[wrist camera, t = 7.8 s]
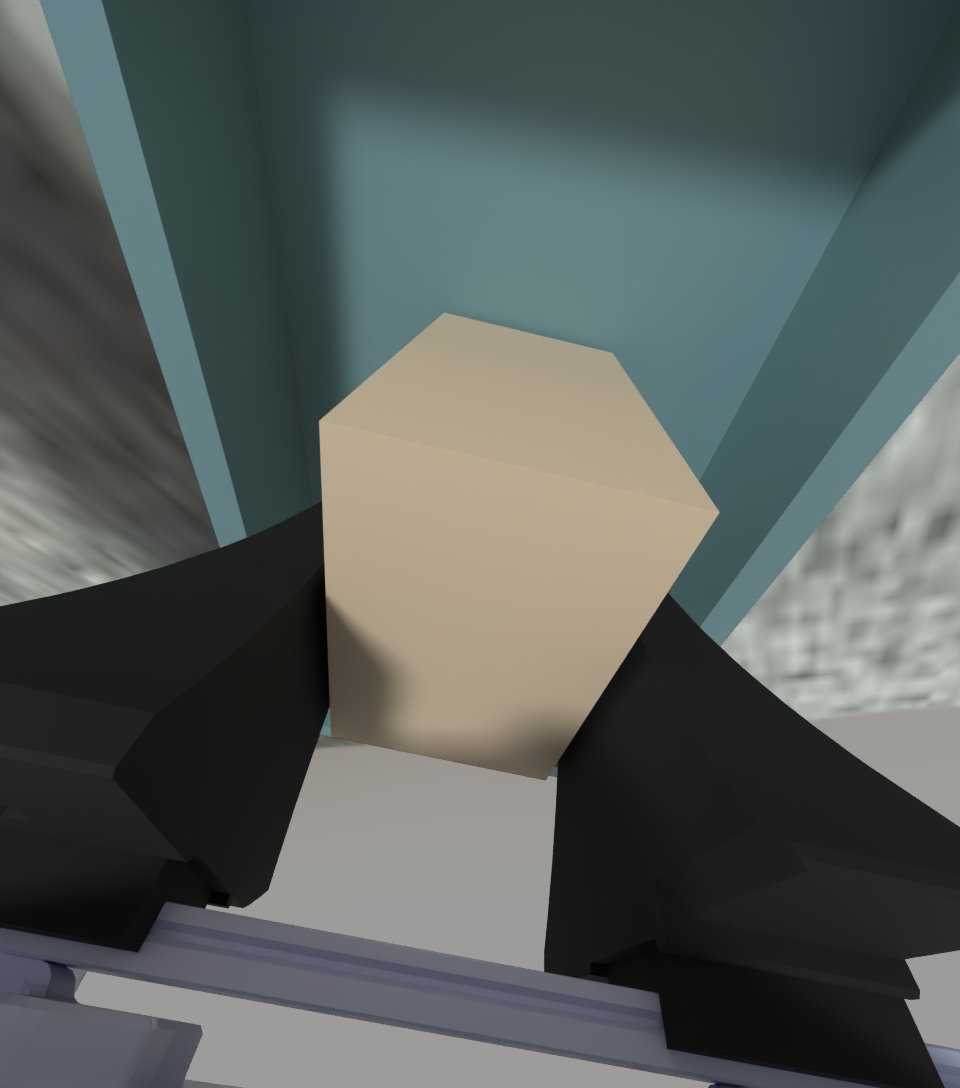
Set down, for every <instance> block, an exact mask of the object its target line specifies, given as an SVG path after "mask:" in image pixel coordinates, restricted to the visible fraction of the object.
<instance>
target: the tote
mask: <svg viewBox="0 0 960 1088" xmlns="http://www.w3.org/2000/svg"><path fill="white" fill-rule="evenodd" d="M40 3H41V6H42V9H43V12H44V15H45V18H46V21H47V24H48V27H49V30H50V33H51V36H52V39H53V42H54V45H55V48H56V51H57V54H58V57H59V60H60V63H61V66H62V70H63V73H64V76H65V79H66V82H67V85H68V88H69V91H70V94H71V97H72V100H73V103H74V106H75V109H76V112H77V115H78V118H79V121H80V124H81V127H82V130H83V133H84V136H85V139H86V142H87V145H88V148H89V152H90V155H91V158H92V161H93V164H94V167H95V170H96V173H97V176H98V179H99V182H100V185H101V188H102V191H103V194H104V197H105V200H106V203H107V206H108V209H109V212H110V215H111V218H112V221H113V224H114V227H115V230H116V234H117V237H118V240H119V243H120V246H121V249H122V252H123V255H124V258H125V261H126V264H127V267H128V270H129V273H130V276H131V279H132V282H133V285H134V288H135V291H136V294H137V297H138V300H139V303H140V306H141V309H142V312H143V316H144V319H145V322H146V325H147V328H148V331H149V334H150V337H151V340H152V343H153V346H154V349H155V352H156V355H157V358H158V361H159V364H160V367H161V370H162V373H163V376H164V379H165V382H166V385H167V388H168V391H169V394H170V397H171V401H172V404H173V407H174V410H175V413H176V416H177V419H178V422H179V425H180V428H181V431H182V434H183V437H184V440H185V443H186V446H187V449H188V452H189V455H190V458H191V461H192V464H193V467H194V470H195V473H196V476H197V479H198V483H199V486H200V489H201V492H202V495H203V498H204V501H205V504H206V507H207V510H208V513H209V516H210V519H211V522H212V525H213V528H214V531H215V534H216V537H217V540H218V543H219V546H220V548H221V547H224V546H227V545H229V544H232V543H234V542H237V541H239V540H242V539H244V538H247V537H249V536H251V535H254V534H256V533H259V532H261V531H263V530H265V529H268V528H270V527H272V526H274V525H276V524H278V523H281V522H283V521H285V520H286V519H288V518H290V517H292V516H294V515H296V514H298V513H300V512H302V511H304V510H306V509H308V508H309V507H311V506H313V505H315V504H317V503H319V502H321V501H322V484H321V458H320V432H319V420H321V419H322V418H323V417H324V416H325V415H326V414H328V413H329V412H330V411H331V410H332V409H333V408H334V407H336V406H337V405H338V404H339V403H340V402H341V401H343V400H344V399H345V398H346V397H347V396H348V395H350V394H351V393H352V392H353V391H354V390H355V389H356V388H358V387H359V386H360V385H361V384H362V383H363V382H365V381H366V380H367V379H368V378H369V377H370V376H371V375H373V374H374V373H375V372H376V371H377V370H378V369H380V368H381V367H382V366H383V365H384V364H385V363H386V362H388V361H389V360H390V359H391V358H392V357H393V356H395V355H396V354H397V353H398V352H399V351H400V350H402V349H403V348H404V347H405V346H406V345H407V344H408V343H410V342H411V341H412V340H413V339H414V338H415V337H417V336H418V335H419V334H420V333H421V332H422V331H423V330H425V329H426V328H427V327H428V326H429V325H430V324H432V323H433V322H434V321H435V320H436V319H437V318H438V317H440V316H441V315H442V314H443V313H448V314H453V315H457V316H461V317H465V318H469V319H473V320H478V321H482V322H486V323H490V324H494V325H498V326H503V327H507V328H511V329H515V330H519V331H523V332H528V333H532V334H536V335H540V336H544V337H548V338H553V339H557V340H561V341H565V342H569V343H573V344H578V345H582V346H586V347H590V348H594V349H598V350H603V351H607V352H611V353H613V354H614V356H615V357H616V359H617V360H618V362H619V363H620V365H621V366H622V368H623V369H624V371H625V372H626V374H627V375H628V377H629V378H630V379H631V381H632V382H633V384H634V385H635V387H636V388H637V390H638V391H639V393H640V394H641V396H642V397H643V399H644V400H645V402H646V403H647V405H648V406H649V408H650V409H651V411H652V412H653V414H654V415H655V417H656V418H657V420H658V421H659V423H660V424H661V426H662V427H663V429H664V430H665V432H666V433H667V435H668V436H669V438H670V439H671V441H672V442H673V444H674V445H675V447H676V448H677V450H678V451H679V453H680V454H681V456H682V457H683V458H684V460H685V461H686V463H687V464H688V466H689V467H690V469H691V470H692V472H693V473H694V475H695V476H696V478H697V479H698V481H699V482H700V484H701V485H702V487H703V488H704V490H705V491H706V493H707V494H708V496H709V497H710V499H711V500H712V502H713V503H714V505H715V506H716V508H717V509H718V511H719V512H720V513H719V514H718V516H717V517H716V519H715V520H714V522H713V523H712V525H711V526H710V528H709V530H708V531H707V533H706V534H705V536H704V537H703V539H702V540H701V542H700V543H699V545H698V546H697V548H696V550H695V551H694V553H693V554H692V556H691V557H690V559H689V560H688V562H687V563H686V565H685V566H684V568H683V570H682V571H681V573H680V574H679V576H678V577H677V579H676V580H675V582H674V583H673V585H672V586H671V588H670V590H669V591H668V593H669V594H670V595H671V596H672V597H673V599H674V600H675V601H676V602H677V603H678V604H679V605H680V606H681V607H682V609H683V610H684V611H685V612H686V613H687V614H688V615H689V616H690V617H691V618H692V619H693V621H694V622H695V623H696V624H697V625H698V626H699V627H700V628H701V629H702V630H703V631H704V632H705V633H706V634H707V635H708V636H709V637H710V638H711V639H713V640H714V641H715V642H716V643H717V644H718V645H719V646H721V645H722V644H723V642H724V641H725V640H726V639H727V638H728V636H729V635H730V634H731V633H732V631H733V630H734V629H735V628H736V626H737V625H738V624H739V623H740V622H741V620H742V619H743V618H744V617H745V615H746V614H747V613H748V612H749V611H750V609H751V608H752V607H753V606H754V604H755V603H756V602H757V601H758V600H759V598H760V597H761V596H762V595H763V593H764V592H765V591H766V590H767V589H768V587H769V586H770V585H771V584H772V582H773V581H774V580H775V579H776V577H777V576H778V575H779V574H780V573H781V571H782V570H783V569H784V568H785V566H786V565H787V564H788V563H789V562H790V560H791V559H792V558H793V557H794V555H795V554H796V553H797V552H798V551H799V549H800V548H801V547H802V546H803V544H804V543H805V542H806V541H807V540H808V538H809V537H810V536H811V535H812V533H813V532H814V531H815V530H816V528H817V527H818V526H819V525H820V524H821V522H822V521H823V520H824V519H825V517H826V516H827V515H828V514H829V513H830V511H831V510H832V509H833V508H834V506H835V505H836V504H837V503H838V502H839V500H840V499H841V498H842V497H843V495H844V494H845V493H846V492H847V491H848V489H849V488H850V487H851V486H852V484H853V483H854V482H855V481H856V480H857V478H858V477H859V476H860V475H861V473H862V472H863V471H864V470H865V468H866V467H867V466H868V465H869V464H870V462H871V461H872V460H873V459H874V457H875V456H876V455H877V454H878V453H879V451H880V450H881V449H882V448H883V446H884V445H885V444H886V443H887V442H888V440H889V439H890V438H891V437H892V435H893V434H894V433H895V432H896V431H897V429H898V428H899V427H900V426H901V424H902V423H903V422H904V421H905V419H906V418H907V417H908V416H909V415H910V413H911V412H912V411H913V410H914V408H915V407H916V406H917V405H918V404H919V402H920V401H921V400H922V399H923V397H924V396H925V395H926V394H927V393H928V391H929V390H930V389H931V388H932V386H933V385H934V384H935V383H936V382H937V380H938V379H939V378H940V377H941V375H942V374H943V373H944V372H945V370H946V369H947V368H948V367H949V366H950V364H951V363H952V362H953V361H954V359H955V358H956V357H957V356H958V355H959V353H960V0H40ZM320 735H324V736H330V737H331V721H330V707H329V710H328V713H327V716H326V719H325V721H324V724H323V727H322V730H321V733H320ZM557 773H558V762H557V763H556V765H555V767H554V768H553V770H552V771H551V773H550V774H549V776H554V777H557Z"/></svg>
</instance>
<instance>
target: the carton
mask: <svg viewBox="0 0 960 1088" xmlns="http://www.w3.org/2000/svg"><path fill="white" fill-rule="evenodd" d="M319 432H320V458H321V484H322V510H323V537H324V563H325V589H326V616H327V642H328V668H329V694H330V721H331V737H334V738H339V739H344V740H349V741H354V742H359V743H364V744H369V745H374V746H379V747H384V748H388V749H393V750H398V751H403V752H408V753H414V754H418V755H423V756H428V757H433V758H438V759H443V760H448V761H453V762H457V763H462V764H468V765H472V766H477V767H483V768H487V769H492V770H497V771H502V772H507V773H512V774H517V775H522V776H527V777H531V778H537V779H541V780H546V779H547V777H548V776H549V774H550V773H551V771H552V770H553V768H554V767H555V765H556V763H557V762H558V760H559V759H560V757H561V756H562V754H563V753H564V751H565V750H566V748H567V747H568V745H569V743H570V742H571V740H572V739H573V737H574V736H575V734H576V733H577V731H578V730H579V728H580V727H581V725H582V723H583V722H584V720H585V719H586V717H587V716H588V714H589V713H590V711H591V710H592V708H593V707H594V705H595V703H596V702H597V700H598V699H599V697H600V696H601V694H602V693H603V691H604V690H605V688H606V687H607V685H608V683H609V682H610V680H611V679H612V677H613V676H614V674H615V673H616V671H617V670H618V668H619V667H620V665H621V663H622V662H623V660H624V659H625V657H626V656H627V654H628V653H629V651H630V650H631V648H632V647H633V645H634V643H635V642H636V640H637V639H638V637H639V636H640V634H641V633H642V631H643V630H644V628H645V626H646V625H647V623H648V622H649V620H650V619H651V617H652V616H653V614H654V613H655V611H656V610H657V608H658V606H659V605H660V603H661V602H662V600H663V599H664V597H665V596H666V594H667V593H668V591H669V590H670V588H671V586H672V585H673V583H674V582H675V580H676V579H677V577H678V576H679V574H680V573H681V571H682V570H683V568H684V566H685V565H686V563H687V562H688V560H689V559H690V557H691V556H692V554H693V553H694V551H695V550H696V548H697V546H698V545H699V543H700V542H701V540H702V539H703V537H704V536H705V534H706V533H707V531H708V530H709V528H710V526H711V525H712V523H713V522H714V520H715V519H716V517H717V516H718V514H719V513H720V512H719V511H718V509H717V508H716V506H715V505H714V503H713V502H712V500H711V499H710V497H709V496H708V494H707V493H706V491H705V490H704V488H703V487H702V485H701V484H700V482H699V481H698V479H697V478H696V476H695V475H694V473H693V472H692V470H691V469H690V467H689V466H688V464H687V463H686V461H685V460H684V458H683V457H682V456H681V454H680V453H679V451H678V450H677V448H676V447H675V445H674V444H673V442H672V441H671V439H670V438H669V436H668V435H667V433H666V432H665V430H664V429H663V427H662V426H661V424H660V423H659V421H658V420H657V418H656V417H655V415H654V414H653V412H652V411H651V409H650V408H649V406H648V405H647V403H646V402H645V400H644V399H643V397H642V396H641V394H640V393H639V391H638V390H637V388H636V387H635V385H634V384H633V382H632V381H631V379H630V378H629V377H628V375H627V374H626V372H625V371H624V369H623V368H622V366H621V365H620V363H619V362H618V360H617V359H616V357H615V356H614V354H613V353H611V352H607V351H603V350H598V349H594V348H590V347H586V346H582V345H578V344H573V343H569V342H565V341H561V340H557V339H553V338H548V337H544V336H540V335H536V334H532V333H528V332H523V331H519V330H515V329H511V328H507V327H503V326H498V325H494V324H490V323H486V322H482V321H478V320H473V319H469V318H465V317H461V316H457V315H453V314H448V313H443V314H442V315H441V316H440V317H438V318H437V319H436V320H435V321H434V322H433V323H432V324H430V325H429V326H428V327H427V328H426V329H425V330H423V331H422V332H421V333H420V334H419V335H418V336H417V337H415V338H414V339H413V340H412V341H411V342H410V343H408V344H407V345H406V346H405V347H404V348H403V349H402V350H400V351H399V352H398V353H397V354H396V355H395V356H393V357H392V358H391V359H390V360H389V361H388V362H386V363H385V364H384V365H383V366H382V367H381V368H380V369H378V370H377V371H376V372H375V373H374V374H373V375H371V376H370V377H369V378H368V379H367V380H366V381H365V382H363V383H362V384H361V385H360V386H359V387H358V388H356V389H355V390H354V391H353V392H352V393H351V394H350V395H348V396H347V397H346V398H345V399H344V400H343V401H341V402H340V403H339V404H338V405H337V406H336V407H334V408H333V409H332V410H331V411H330V412H329V413H328V414H326V415H325V416H324V417H323V418H322V419H321V420H319Z"/></svg>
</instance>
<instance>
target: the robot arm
mask: <svg viewBox="0 0 960 1088" xmlns="http://www.w3.org/2000/svg"><path fill="white" fill-rule="evenodd" d="M329 707H330V694H329V668H328V642H327V616H326V589H325V563H324V537H323V510H322V501H321V502H319V503H317V504H315V505H313V506H311V507H309V508H308V509H306V510H304V511H302V512H300V513H298V514H296V515H294V516H292V517H290V518H288V519H286V520H285V521H283V522H281V523H278V524H276V525H274V526H272V527H270V528H268V529H265V530H263V531H261V532H259V533H256V534H254V535H251V536H249V537H247V538H244V539H242V540H239V541H237V542H234V543H232V544H229V545H227V546H224V547H221V548H219V549H216V550H213V551H210V552H207V553H204V554H201V555H198V556H195V557H192V558H189V559H186V560H183V561H180V562H177V563H174V564H171V565H168V566H165V567H162V568H158V569H155V570H151V571H148V572H144V573H141V574H137V575H134V576H130V577H126V578H123V579H119V580H115V581H111V582H107V583H103V584H99V585H95V586H91V587H87V588H84V589H79V590H75V591H71V592H66V593H62V594H58V595H53V596H49V597H44V598H39V599H34V600H29V601H24V602H19V603H14V604H10V605H5V606H0V1088H241V1087H234V1086H227V1085H220V1084H212V1083H206V1082H199V1081H192V1080H185V1076H186V1073H187V1071H188V1069H189V1066H190V1063H191V1061H192V1058H193V1056H194V1054H195V1052H196V1049H197V1046H198V1044H199V1042H200V1039H201V1037H202V1029H201V1025H196V1024H191V1023H185V1022H180V1021H174V1020H168V1019H163V1018H157V1017H152V1016H146V1015H140V1014H135V1013H129V1012H123V1011H117V1010H112V1009H106V1008H100V1007H94V1006H88V1005H82V1004H80V1003H78V1002H77V1001H76V999H75V998H74V990H75V985H76V978H75V975H74V972H73V970H71V969H69V968H74V969H79V970H85V971H90V972H96V973H102V974H107V975H113V976H118V977H124V978H129V979H135V980H141V981H146V982H152V983H157V984H163V985H168V986H174V987H179V988H185V989H192V990H196V991H203V992H207V993H213V994H219V995H224V996H230V997H235V998H241V999H246V1000H252V1001H258V1002H263V1003H269V1004H274V1005H280V1006H285V1007H291V1008H297V1009H302V1010H307V1011H313V1012H319V1013H324V1014H330V1015H335V1016H341V1017H346V1018H352V1019H358V1020H363V1021H369V1022H374V1023H380V1024H385V1025H391V1026H397V1027H402V1028H408V1029H414V1030H419V1031H424V1032H430V1033H436V1034H441V1035H447V1036H452V1037H458V1038H464V1039H469V1040H475V1041H480V1042H486V1043H491V1044H497V1045H502V1046H508V1047H514V1048H519V1049H525V1050H530V1051H536V1052H541V1053H547V1054H552V1055H558V1056H564V1057H569V1058H575V1059H581V1060H586V1061H592V1062H597V1063H602V1064H608V1065H614V1066H619V1067H625V1068H631V1069H636V1070H642V1071H647V1072H653V1073H658V1074H664V1075H669V1076H675V1077H680V1078H686V1079H692V1080H697V1081H703V1082H709V1083H714V1085H710V1086H709V1087H708V1088H960V1050H959V1049H954V1048H948V1047H943V1046H937V1045H933V1044H927V1043H924V1041H923V1039H922V1037H921V1035H920V1033H919V1031H918V1028H917V1026H916V1024H915V1022H914V1020H913V1017H912V1015H911V1013H910V1011H909V1009H908V1007H907V1005H906V1002H905V1000H904V999H909V1000H914V999H919V997H920V990H919V988H918V985H917V983H916V982H915V979H914V977H913V975H912V973H911V971H910V969H909V967H908V965H907V963H906V961H905V959H908V958H914V957H921V956H927V955H933V954H939V953H945V952H951V951H957V950H960V827H959V826H957V825H956V824H954V823H953V822H951V821H950V820H948V819H947V818H945V817H944V816H942V815H941V814H939V813H938V812H936V811H935V810H933V809H932V808H930V807H929V806H927V805H926V804H924V803H923V802H921V801H920V800H919V799H917V798H916V797H914V796H912V795H911V794H910V793H908V792H906V791H905V790H904V789H902V788H901V787H899V786H898V785H896V784H895V783H893V782H892V781H890V780H889V779H887V778H886V777H884V776H883V775H881V774H880V773H878V772H877V771H875V770H874V769H872V768H871V767H869V766H868V765H866V764H865V763H864V762H862V761H861V760H859V759H858V758H856V757H855V756H854V755H852V754H851V753H850V752H848V751H847V750H846V749H844V748H843V747H842V746H840V745H839V744H838V743H836V742H835V741H834V740H832V739H831V738H829V737H828V736H827V735H825V734H824V733H823V732H821V731H820V730H819V729H817V728H816V727H814V726H813V725H812V724H811V723H809V722H808V721H807V720H805V719H804V718H803V717H802V716H800V715H799V714H798V713H797V712H795V711H794V710H793V709H791V708H790V707H789V706H788V705H786V704H785V703H784V702H783V701H781V700H780V699H779V698H778V697H777V696H775V695H774V694H773V693H772V692H771V691H769V690H768V689H767V688H766V687H765V686H763V685H762V684H761V683H760V682H759V681H758V680H756V679H755V678H754V677H753V676H752V675H750V674H749V673H748V672H747V671H746V670H745V669H744V668H742V667H741V666H740V665H739V664H738V663H737V662H736V661H735V660H733V659H732V658H731V657H730V656H729V655H728V654H727V653H726V652H725V651H724V650H723V649H722V648H721V647H720V646H719V645H718V644H717V643H716V642H715V641H714V640H713V639H711V638H710V637H709V636H708V635H707V634H706V633H705V632H704V631H703V630H702V629H701V628H700V627H699V626H698V625H697V624H696V623H695V622H694V621H693V619H692V618H691V617H690V616H689V615H688V614H687V613H686V612H685V611H684V610H683V609H682V607H681V606H680V605H679V604H678V603H677V602H676V601H675V600H674V599H673V597H672V596H671V595H670V594H669V593H667V594H666V596H665V597H664V599H663V600H662V602H661V603H660V605H659V606H658V608H657V610H656V611H655V613H654V614H653V616H652V617H651V619H650V620H649V622H648V623H647V625H646V626H645V628H644V630H643V631H642V633H641V634H640V636H639V637H638V639H637V640H636V642H635V643H634V645H633V647H632V648H631V650H630V651H629V653H628V654H627V656H626V657H625V659H624V660H623V662H622V663H621V665H620V667H619V668H618V670H617V671H616V673H615V674H614V676H613V677H612V679H611V680H610V682H609V683H608V685H607V687H606V688H605V690H604V691H603V693H602V694H601V696H600V697H599V699H598V700H597V702H596V703H595V705H594V707H593V708H592V710H591V711H590V713H589V714H588V716H587V717H586V719H585V720H584V722H583V723H582V725H581V727H580V728H579V730H578V731H577V733H576V734H575V736H574V737H573V739H572V740H571V742H570V743H569V745H568V747H567V748H566V750H565V751H564V753H563V754H562V756H561V757H560V759H559V760H558V773H557V795H556V814H555V831H554V845H553V860H552V872H551V885H550V896H549V908H548V920H547V929H546V940H545V950H544V972H541V971H536V970H530V969H525V968H520V967H514V966H509V965H503V964H498V963H493V962H487V961H482V960H477V959H471V958H465V957H461V956H455V955H450V954H444V953H438V952H434V951H428V950H423V949H417V948H412V947H407V946H401V945H396V944H390V943H386V942H380V941H375V940H369V939H364V938H359V937H353V936H348V935H343V934H337V933H332V932H326V931H321V930H316V929H310V928H305V927H300V926H294V925H288V924H283V923H278V922H273V921H268V920H262V919H257V918H251V917H246V916H241V915H235V914H230V913H225V912H219V911H214V910H208V909H205V907H206V905H207V904H208V905H213V906H218V907H223V908H229V906H235V907H241V908H244V907H246V906H248V905H249V904H251V903H252V902H253V901H255V900H256V899H258V898H259V897H260V896H262V895H263V894H264V893H265V892H266V891H267V890H268V889H269V886H270V883H271V879H272V876H273V873H274V870H275V866H276V864H277V861H278V857H279V854H280V851H281V848H282V845H283V842H284V839H285V836H286V833H287V830H288V826H289V823H290V820H291V817H292V814H293V811H294V808H295V805H296V802H297V799H298V796H299V793H300V790H301V787H302V784H303V782H304V778H305V775H306V773H307V770H308V766H309V764H310V761H311V758H312V755H313V752H314V749H315V747H316V744H317V741H318V738H319V735H320V733H321V730H322V727H323V724H324V721H325V719H326V716H327V713H328V710H329ZM67 967H68V968H67Z"/></svg>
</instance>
